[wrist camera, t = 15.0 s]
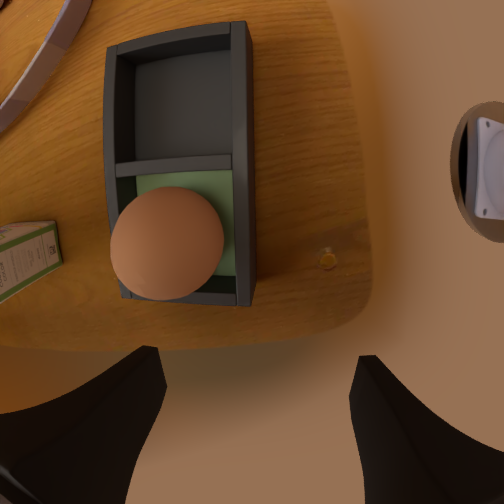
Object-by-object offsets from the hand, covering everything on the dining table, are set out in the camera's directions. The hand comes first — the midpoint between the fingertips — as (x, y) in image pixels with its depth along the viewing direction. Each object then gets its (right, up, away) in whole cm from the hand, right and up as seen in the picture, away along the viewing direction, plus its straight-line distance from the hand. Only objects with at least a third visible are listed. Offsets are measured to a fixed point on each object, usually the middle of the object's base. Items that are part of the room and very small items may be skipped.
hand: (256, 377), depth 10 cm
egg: (-4, +6, +8) cm, 11 cm away
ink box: (-19, +5, +10) cm, 22 cm away
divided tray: (-4, +10, +7) cm, 13 cm away
